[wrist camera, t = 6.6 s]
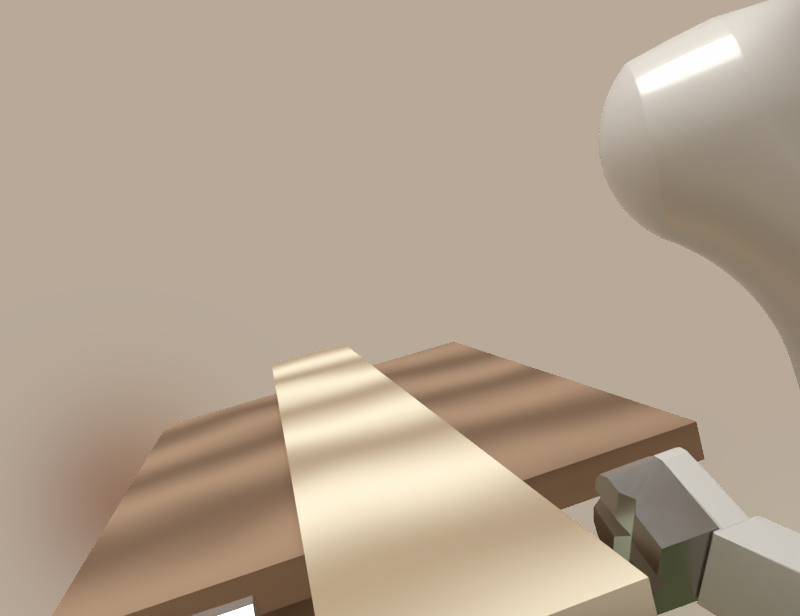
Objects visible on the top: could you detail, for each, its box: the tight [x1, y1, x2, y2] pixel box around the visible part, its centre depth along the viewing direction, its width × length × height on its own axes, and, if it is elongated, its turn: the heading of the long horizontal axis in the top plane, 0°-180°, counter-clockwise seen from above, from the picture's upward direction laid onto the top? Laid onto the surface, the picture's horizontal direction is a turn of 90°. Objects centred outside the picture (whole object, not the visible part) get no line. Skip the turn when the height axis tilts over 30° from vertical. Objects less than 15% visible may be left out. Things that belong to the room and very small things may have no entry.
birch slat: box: [272, 344, 657, 616], centre depth 23 cm, size 30×4×2 cm, turn 12°
